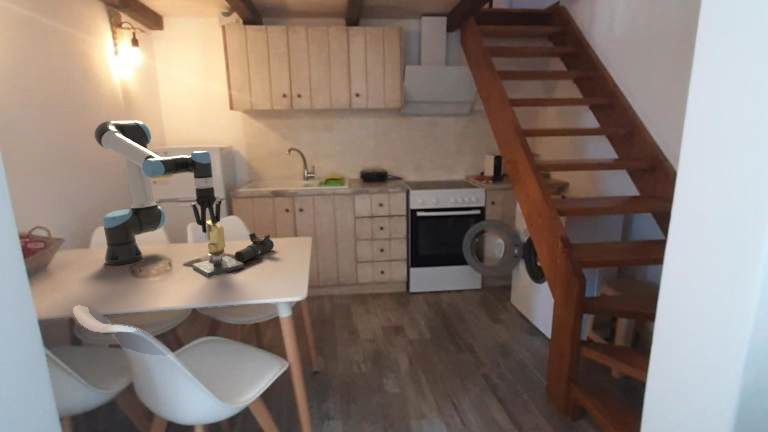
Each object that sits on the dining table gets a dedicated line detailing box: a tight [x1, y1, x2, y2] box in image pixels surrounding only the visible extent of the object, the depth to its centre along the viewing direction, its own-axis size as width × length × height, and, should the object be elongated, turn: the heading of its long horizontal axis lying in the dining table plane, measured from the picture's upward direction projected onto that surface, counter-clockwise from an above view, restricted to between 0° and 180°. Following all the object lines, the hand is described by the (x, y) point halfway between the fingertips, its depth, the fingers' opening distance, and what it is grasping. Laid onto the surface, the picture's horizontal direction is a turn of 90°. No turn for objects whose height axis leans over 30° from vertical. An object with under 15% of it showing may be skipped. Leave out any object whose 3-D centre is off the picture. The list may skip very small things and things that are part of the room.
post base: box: [192, 253, 245, 278], centre depth 185 cm, size 16×16×7 cm
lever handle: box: [206, 219, 226, 255], centre depth 183 cm, size 6×16×13 cm, turn 40°
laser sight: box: [234, 232, 275, 263], centre depth 201 cm, size 10×22×10 cm, turn 157°
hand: (210, 238), depth 187 cm, fingers closed on lever handle, 2 cm apart
